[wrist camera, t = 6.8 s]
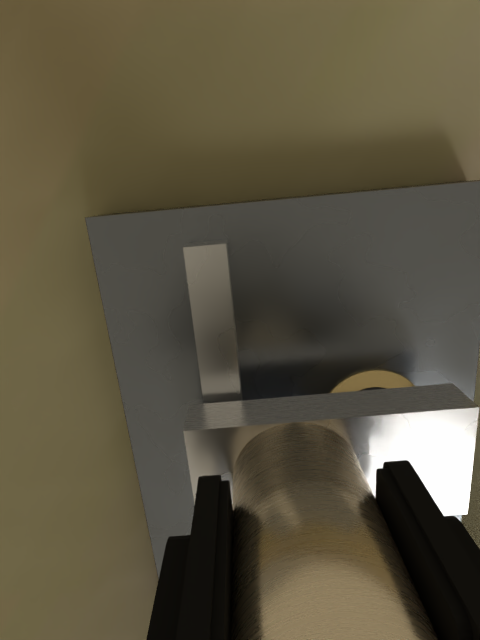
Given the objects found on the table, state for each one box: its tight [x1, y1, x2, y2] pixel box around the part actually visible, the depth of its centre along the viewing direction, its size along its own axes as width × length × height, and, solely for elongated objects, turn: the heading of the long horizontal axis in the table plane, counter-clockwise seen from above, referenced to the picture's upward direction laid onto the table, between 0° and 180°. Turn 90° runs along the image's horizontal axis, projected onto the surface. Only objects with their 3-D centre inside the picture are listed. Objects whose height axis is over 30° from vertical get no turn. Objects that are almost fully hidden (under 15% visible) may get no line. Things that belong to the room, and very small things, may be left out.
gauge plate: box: [85, 180, 480, 578], centre depth 12 cm, size 12×23×9 cm, turn 5°
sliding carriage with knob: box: [183, 383, 479, 640], centre depth 9 cm, size 8×4×9 cm, turn 95°
